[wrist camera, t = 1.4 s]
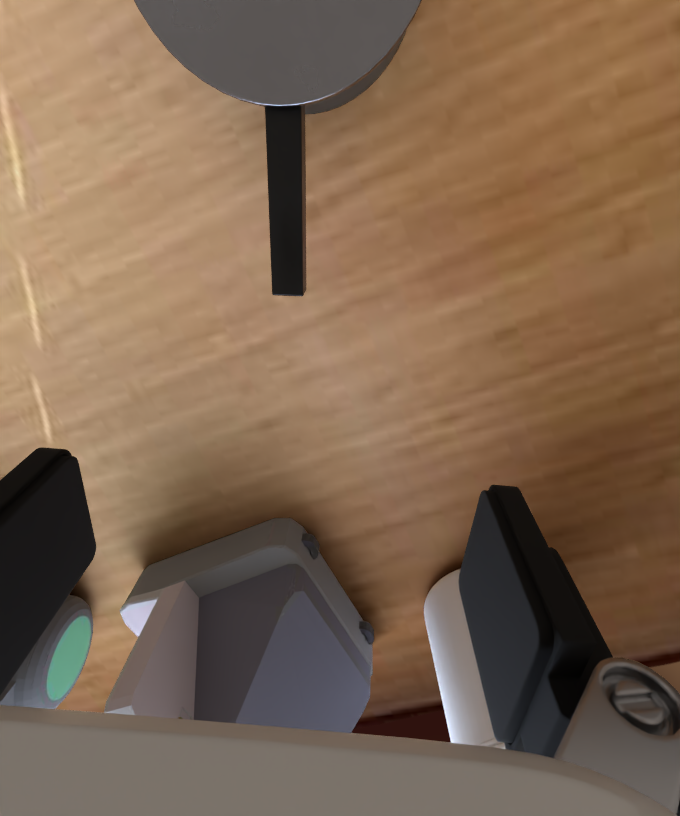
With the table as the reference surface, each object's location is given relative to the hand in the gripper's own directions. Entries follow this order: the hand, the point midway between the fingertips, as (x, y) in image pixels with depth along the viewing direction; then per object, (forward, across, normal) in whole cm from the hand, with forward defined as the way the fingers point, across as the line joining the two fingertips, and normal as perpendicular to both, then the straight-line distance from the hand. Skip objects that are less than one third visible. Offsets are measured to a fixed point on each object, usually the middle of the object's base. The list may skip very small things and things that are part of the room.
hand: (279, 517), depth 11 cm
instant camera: (+25, +5, +33) cm, 41 cm away
